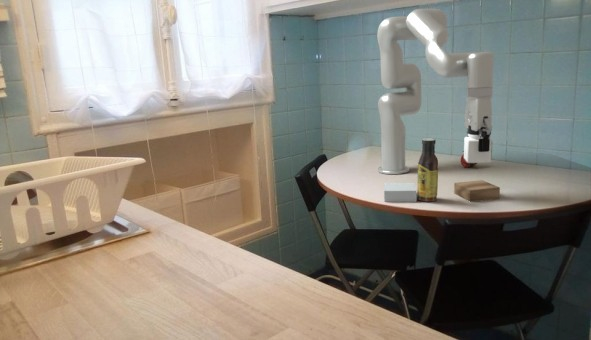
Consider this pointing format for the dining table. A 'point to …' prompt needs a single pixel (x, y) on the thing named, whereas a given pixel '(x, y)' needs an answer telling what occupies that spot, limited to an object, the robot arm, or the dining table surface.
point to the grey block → (399, 192)
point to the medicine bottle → (475, 148)
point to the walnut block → (476, 190)
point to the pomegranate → (467, 162)
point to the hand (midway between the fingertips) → (477, 148)
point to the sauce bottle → (427, 172)
